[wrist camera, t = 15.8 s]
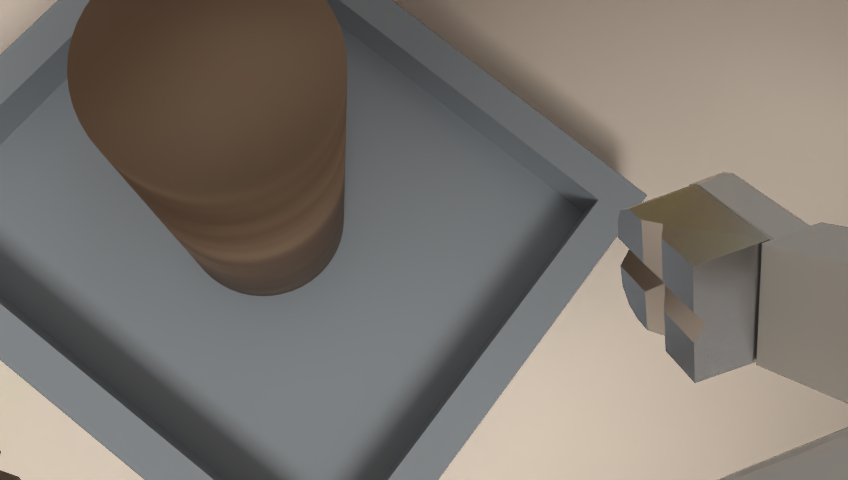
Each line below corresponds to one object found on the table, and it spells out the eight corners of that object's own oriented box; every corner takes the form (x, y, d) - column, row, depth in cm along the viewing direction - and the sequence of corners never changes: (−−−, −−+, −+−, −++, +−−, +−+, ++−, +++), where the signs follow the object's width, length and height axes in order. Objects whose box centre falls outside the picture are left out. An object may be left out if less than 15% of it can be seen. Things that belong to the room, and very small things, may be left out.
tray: (622, 213, 24) (646, 194, 22) (328, 611, 21) (326, 631, 19) (217, -98, 25) (207, -142, 23) (-126, 236, 22) (-171, 217, 20)
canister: (375, 208, 23) (401, 50, 13) (274, 328, 22) (223, 251, 12) (256, 115, 23) (197, -107, 14) (151, 229, 22) (5, 76, 12)
